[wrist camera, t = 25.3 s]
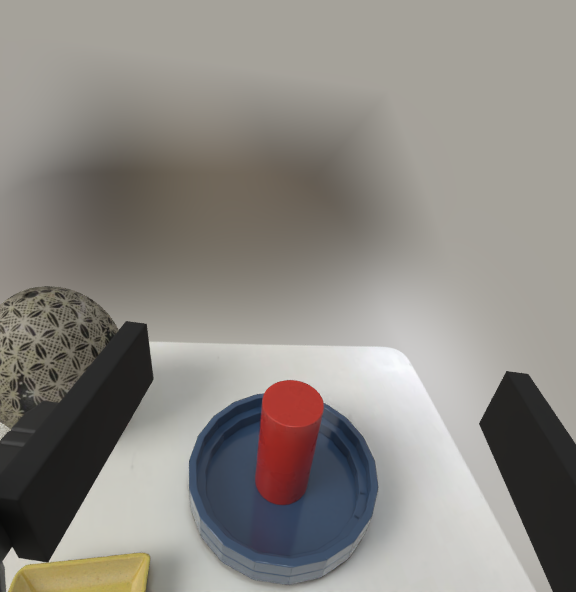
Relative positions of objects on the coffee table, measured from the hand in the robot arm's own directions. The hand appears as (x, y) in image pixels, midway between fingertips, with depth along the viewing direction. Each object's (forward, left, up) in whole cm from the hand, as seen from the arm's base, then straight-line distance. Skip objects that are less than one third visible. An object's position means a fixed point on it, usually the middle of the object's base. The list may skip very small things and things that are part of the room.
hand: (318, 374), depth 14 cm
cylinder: (0, -10, -22) cm, 24 cm away
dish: (0, -10, -23) cm, 25 cm away
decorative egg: (+22, -14, -23) cm, 35 cm away
